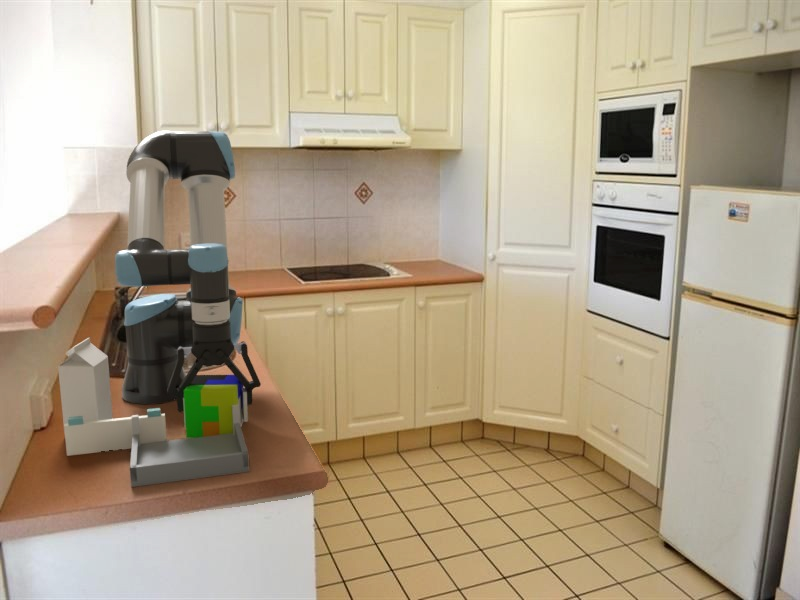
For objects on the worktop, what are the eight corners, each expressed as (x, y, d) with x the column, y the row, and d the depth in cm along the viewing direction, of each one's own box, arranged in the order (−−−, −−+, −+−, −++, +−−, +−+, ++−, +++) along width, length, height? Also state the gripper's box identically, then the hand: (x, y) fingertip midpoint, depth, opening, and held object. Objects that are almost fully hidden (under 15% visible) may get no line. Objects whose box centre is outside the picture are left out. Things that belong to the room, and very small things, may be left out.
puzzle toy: (244, 418, 153) (242, 374, 151) (236, 437, 144) (234, 390, 141) (197, 419, 153) (195, 374, 151) (186, 437, 143) (183, 390, 141)
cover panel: (67, 453, 135) (64, 417, 134) (166, 441, 141) (164, 407, 139) (66, 456, 134) (63, 420, 133) (166, 444, 140) (164, 409, 138)
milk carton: (113, 424, 150) (106, 337, 146) (99, 438, 143) (92, 347, 139) (80, 424, 150) (72, 337, 146) (64, 437, 143) (55, 346, 139)
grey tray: (134, 449, 137) (131, 415, 136) (239, 437, 143) (238, 404, 142) (131, 487, 122) (128, 449, 120) (249, 471, 128) (247, 435, 127)
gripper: (149, 329, 136) (156, 435, 141) (272, 320, 144) (275, 422, 148) (149, 320, 143) (156, 422, 148) (267, 312, 151) (270, 410, 155)
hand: (216, 422), depth 148 cm, fingers closed on puzzle toy, 11 cm apart
